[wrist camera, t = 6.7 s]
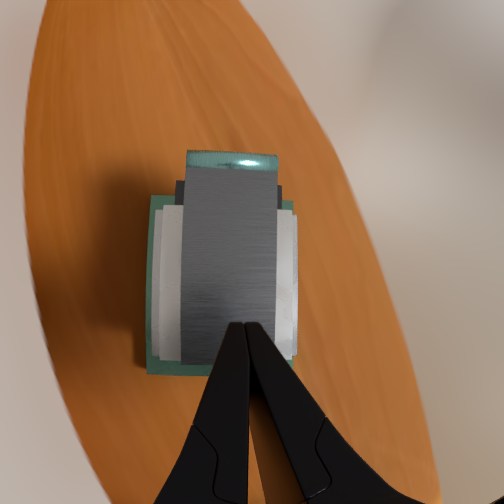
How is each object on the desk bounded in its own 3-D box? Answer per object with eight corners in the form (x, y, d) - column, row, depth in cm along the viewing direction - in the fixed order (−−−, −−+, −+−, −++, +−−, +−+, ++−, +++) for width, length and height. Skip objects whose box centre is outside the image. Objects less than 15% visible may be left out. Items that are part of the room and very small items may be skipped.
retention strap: (275, 365, 13) (278, 151, 14) (180, 365, 13) (187, 146, 13) (270, 359, 14) (273, 159, 15) (182, 359, 14) (187, 154, 14)
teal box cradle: (288, 370, 20) (320, 396, 14) (149, 370, 19) (129, 398, 13) (289, 205, 22) (319, 174, 16) (153, 199, 20) (136, 164, 14)
